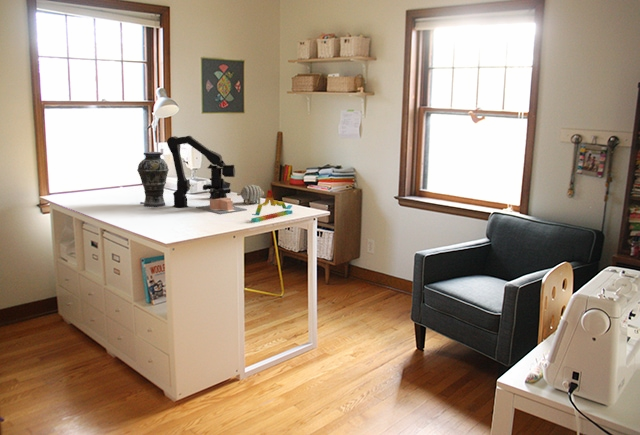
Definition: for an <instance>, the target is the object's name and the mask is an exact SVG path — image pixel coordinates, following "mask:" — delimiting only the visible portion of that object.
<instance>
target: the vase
mask: <svg viewBox="0 0 640 435" xmlns="http://www.w3.org/2000/svg"><path fill="white" fill-rule="evenodd" d="M143 155H144V156H145V158H144V159H141V161H140V162H139V163H138V165H137V172H138V173H137V174H138V175H139V177H140V180H141V181H140V182H141V184H142V186H143V189H144V195H145V198H144V203H143V207H145V208H161V207H165V206H166V202H165V198H164V192H165V190H164V188H165V185H166V184H167V177H168V173H169V166H168V163H167V162H166V161H165V159H163V158H161V156H162V155H163V152H161V151H145V152H143Z"/></svg>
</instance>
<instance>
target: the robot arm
mask: <svg viewBox="0 0 640 435" xmlns="http://www.w3.org/2000/svg"><path fill="white" fill-rule="evenodd" d="M166 144H167V147H168V149H169V151H170V153H171V155H172V159H173V164H174V169H175V174H176V177H177V181H176V190H175V191H174V192H173V193H172V195H173V205H172V207H174V208H177V209H180V208H188V207H189V205H188V197H187V194H188V192H190V190H191V186H192V185H191V184H190V179H189V178H188V179H187V177H186V174H185V169H184V166H183V161H182V156H181V145H184V144H188V145H189V146H190V147H192V148H194V149H195V150H197V151H198V152H199V153H200V154H201V155H204V157H205V158H206V159H207V160H208V161H209V162H210V164H209V165H208V167H207V168H206V169H210V178H209V181H210V183H209V184H208V183H207V184H203V186H202V190H203V191H207V190H208V193H209V195H211V196H212V198H213V199H220V196H221V194H226V195H227V194H231V188H230V187H231V185H232V184H231V183H230V182H227V181H225V179H224V178H235V177H236V168H235V164H226V162H224V160H223V156H222V155H221V154H220V153H218V152H215V151H213V150H211V149H209V148H208V147H206V146H205V145H203V144H202V143H200V142H199V141H198V140H197V139H196V138H193V136H192V135H187V136H180V137H178V136H177V135H176V136H175V135H173V136H169V137H168V138H167V140H166ZM222 176H223V177H224V178H223V177H222Z"/></svg>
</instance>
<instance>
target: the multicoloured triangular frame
mask: <svg viewBox="0 0 640 435" xmlns="http://www.w3.org/2000/svg"><path fill="white" fill-rule="evenodd" d="M257 204H258V205H257V208H256V211H255V213H251V215H252V216H256V217H252V218H251V223H260V222H264V221H267V220H273V219H275V218H281V217H284V216H287V215H291V214H293V210H291V208H292V207H293V205H291V204H287V206H286V204H285V202H284V201H281V200H280V201H279V200H276V199H274V195H273V191H272V190H269V189H268V190H267V192H266V196H265V201H264V202H263V203H260V204H259V203H257ZM268 204H270V206H273V207H275V206H280V207H282V209H284V210H282V211H278V212H275V213H269V214H266V215H260V214H261V211H262V208H263V206H265V207H266V206H267V205H268Z"/></svg>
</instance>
